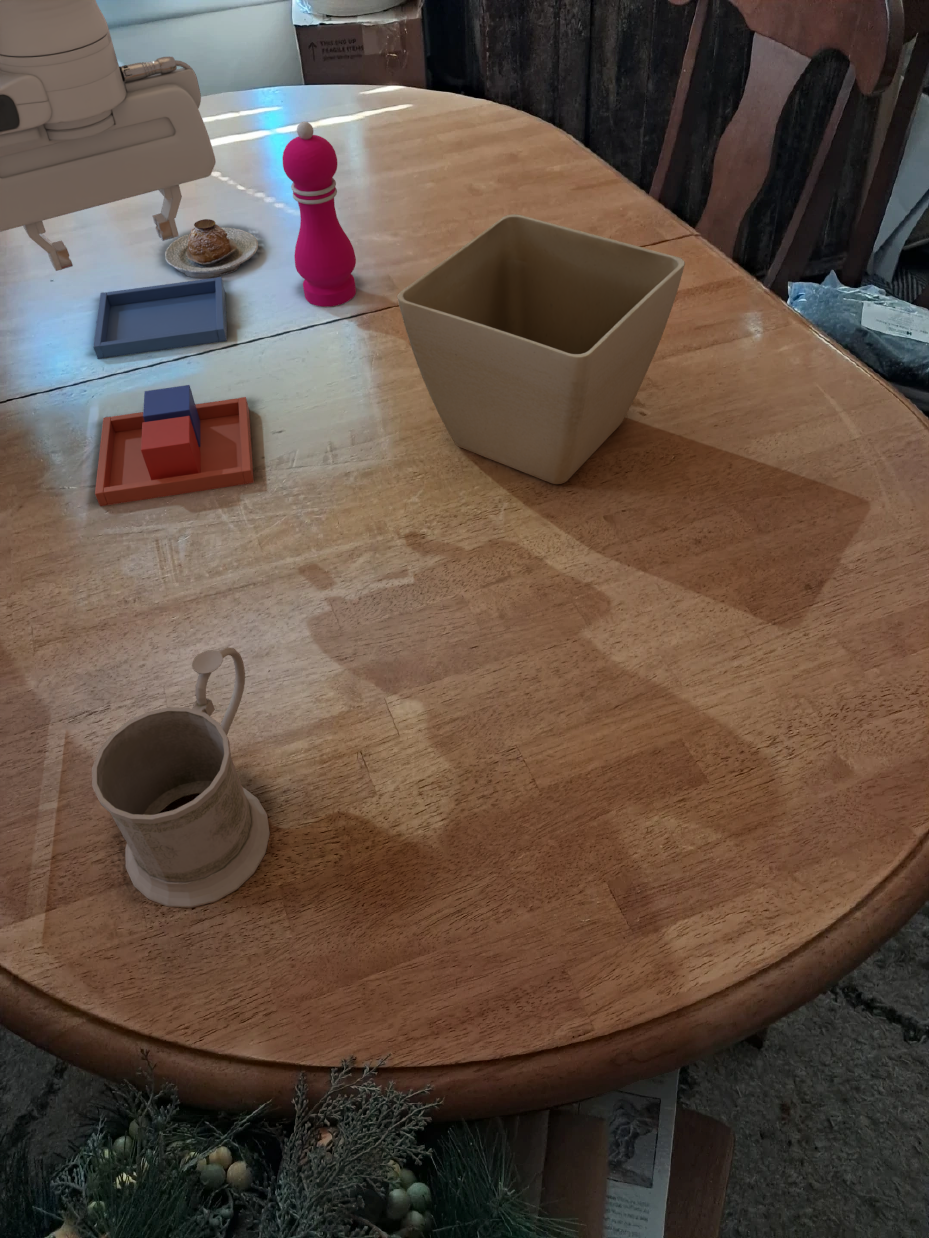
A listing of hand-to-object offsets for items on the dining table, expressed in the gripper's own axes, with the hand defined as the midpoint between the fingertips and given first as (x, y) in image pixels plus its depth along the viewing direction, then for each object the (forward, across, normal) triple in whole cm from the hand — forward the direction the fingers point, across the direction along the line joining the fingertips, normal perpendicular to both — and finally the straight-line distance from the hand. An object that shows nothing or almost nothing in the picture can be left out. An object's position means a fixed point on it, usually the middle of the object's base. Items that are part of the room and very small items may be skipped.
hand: (116, 251), depth 86 cm
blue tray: (+20, -6, -23) cm, 32 cm away
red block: (+20, +2, +5) cm, 21 cm away
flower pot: (+21, -32, +19) cm, 42 cm away
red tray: (+20, +1, +3) cm, 21 cm away
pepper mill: (+21, -26, -19) cm, 38 cm away
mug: (+21, +12, +44) cm, 50 cm away
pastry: (+21, -17, -36) cm, 45 cm away
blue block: (+20, 0, 0) cm, 20 cm away
